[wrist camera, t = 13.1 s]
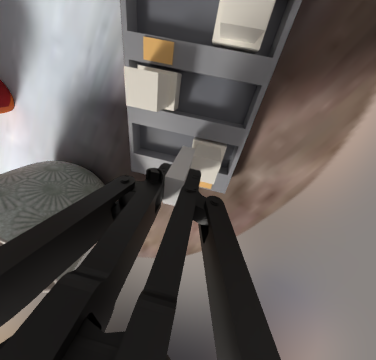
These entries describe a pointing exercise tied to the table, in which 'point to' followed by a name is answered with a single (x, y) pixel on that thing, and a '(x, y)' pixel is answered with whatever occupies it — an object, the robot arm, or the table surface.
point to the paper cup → (5, 99)
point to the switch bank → (197, 79)
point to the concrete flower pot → (41, 196)
